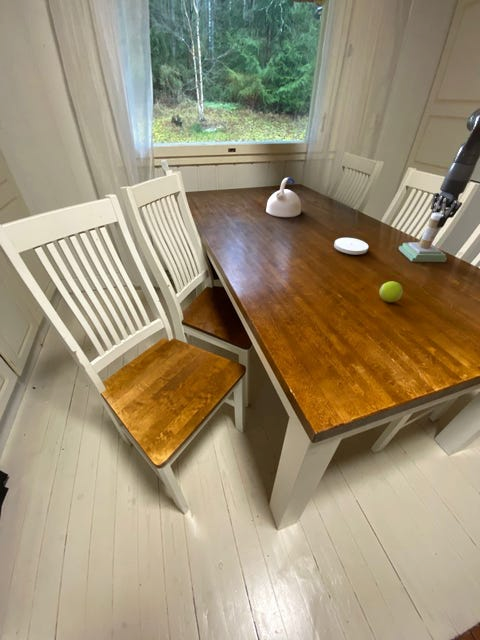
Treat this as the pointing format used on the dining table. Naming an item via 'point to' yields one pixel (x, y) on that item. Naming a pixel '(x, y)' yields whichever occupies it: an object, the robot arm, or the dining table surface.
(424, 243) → the sprinkles bottle
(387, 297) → the tennis ball
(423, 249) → the pan
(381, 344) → the dining table surface
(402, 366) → the dining table surface
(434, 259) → the scale
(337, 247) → the plastic lid
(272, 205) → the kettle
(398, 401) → the dining table surface
